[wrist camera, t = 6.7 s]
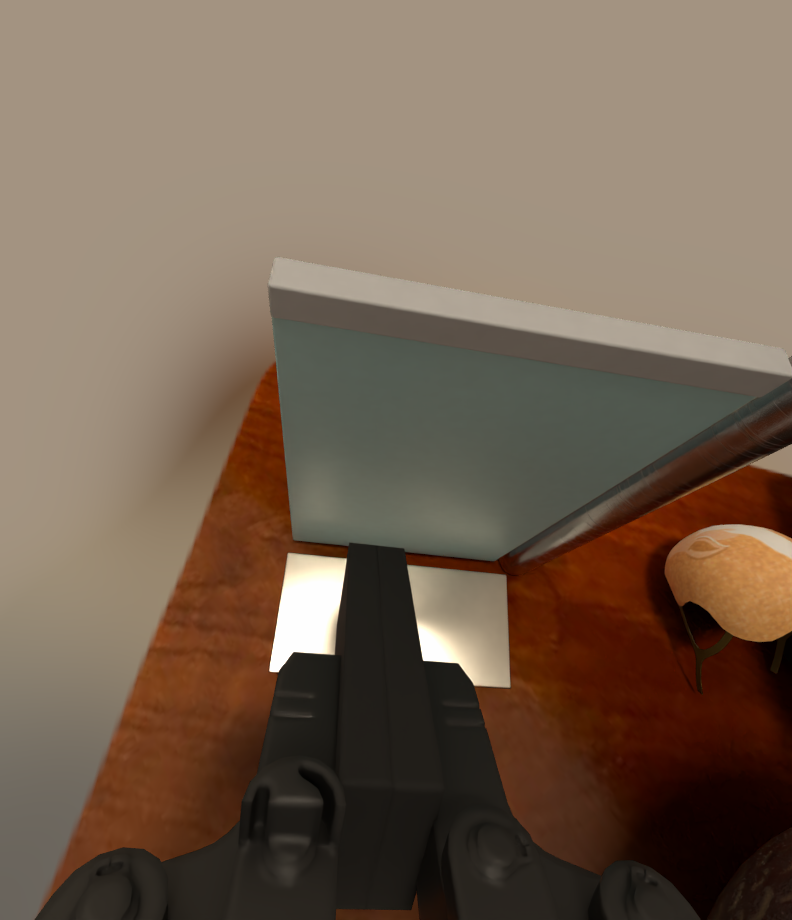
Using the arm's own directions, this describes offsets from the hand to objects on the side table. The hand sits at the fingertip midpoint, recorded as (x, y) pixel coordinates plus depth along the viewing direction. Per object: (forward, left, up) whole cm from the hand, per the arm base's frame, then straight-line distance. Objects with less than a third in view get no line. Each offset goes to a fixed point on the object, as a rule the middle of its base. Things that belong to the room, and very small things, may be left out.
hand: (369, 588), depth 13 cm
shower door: (+2, +5, -9) cm, 10 cm away
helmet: (+19, +2, -10) cm, 21 cm away
